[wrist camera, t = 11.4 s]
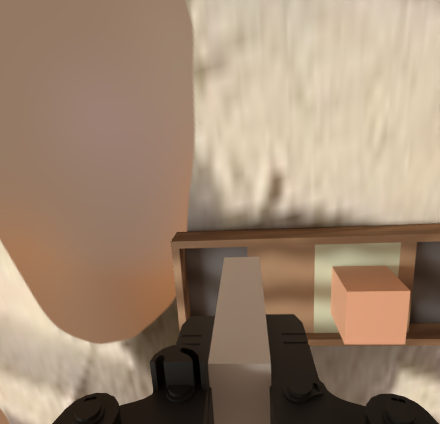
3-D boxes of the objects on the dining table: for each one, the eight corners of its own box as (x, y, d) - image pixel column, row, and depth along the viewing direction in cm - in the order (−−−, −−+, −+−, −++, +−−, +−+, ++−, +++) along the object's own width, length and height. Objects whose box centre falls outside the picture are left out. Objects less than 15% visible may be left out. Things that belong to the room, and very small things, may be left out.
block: (332, 266, 46) (347, 291, 39) (385, 265, 45) (410, 290, 38) (330, 312, 47) (344, 344, 41) (382, 312, 47) (405, 344, 40)
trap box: (176, 232, 49) (170, 241, 45) (487, 222, 45) (509, 231, 41) (186, 329, 53) (181, 346, 49) (471, 327, 49) (490, 345, 45)
